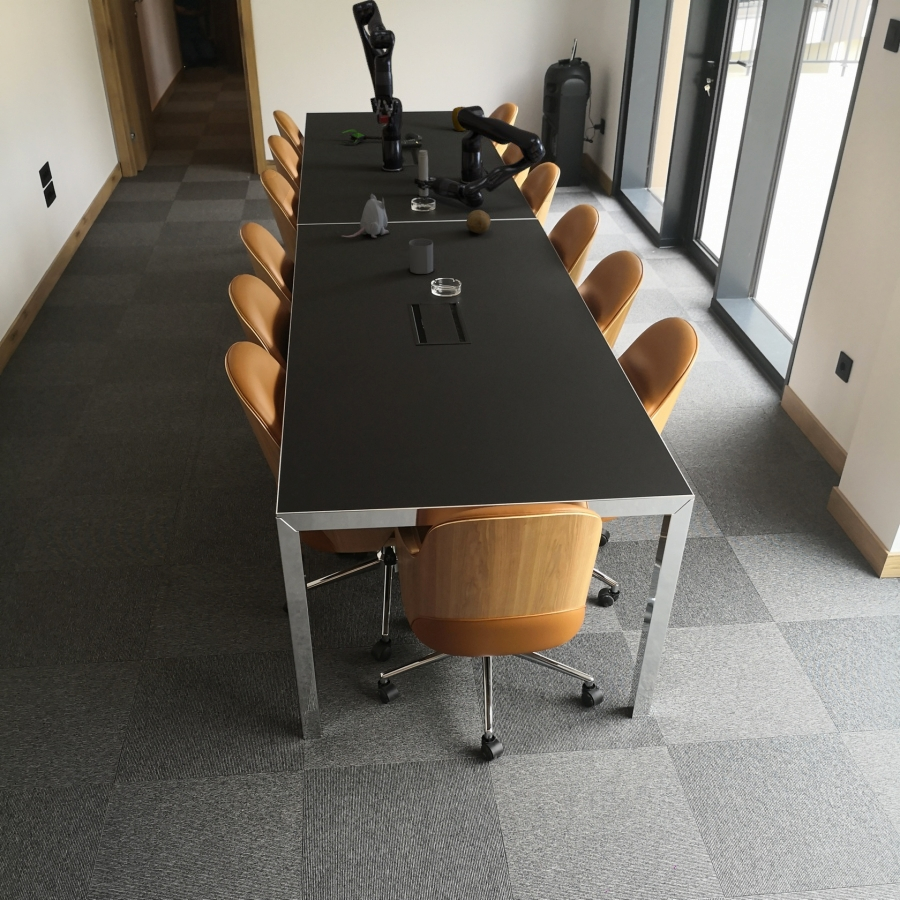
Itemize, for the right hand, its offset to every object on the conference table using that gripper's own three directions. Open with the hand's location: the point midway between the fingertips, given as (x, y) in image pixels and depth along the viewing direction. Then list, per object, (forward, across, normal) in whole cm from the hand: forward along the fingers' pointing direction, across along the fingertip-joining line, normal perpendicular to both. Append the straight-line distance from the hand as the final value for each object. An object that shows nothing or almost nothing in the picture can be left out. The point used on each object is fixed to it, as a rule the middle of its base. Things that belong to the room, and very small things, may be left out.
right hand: (419, 179), depth 384 cm
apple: (+74, +100, -6) cm, 125 cm away
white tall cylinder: (-3, 0, -6) cm, 7 cm away
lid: (+13, -8, +26) cm, 30 cm away
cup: (-70, -63, -6) cm, 94 cm away
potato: (-55, -19, -6) cm, 58 cm away
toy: (-29, -56, -6) cm, 63 cm away
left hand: (+13, -8, +23) cm, 27 cm away
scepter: (+89, +44, -6) cm, 99 cm away
